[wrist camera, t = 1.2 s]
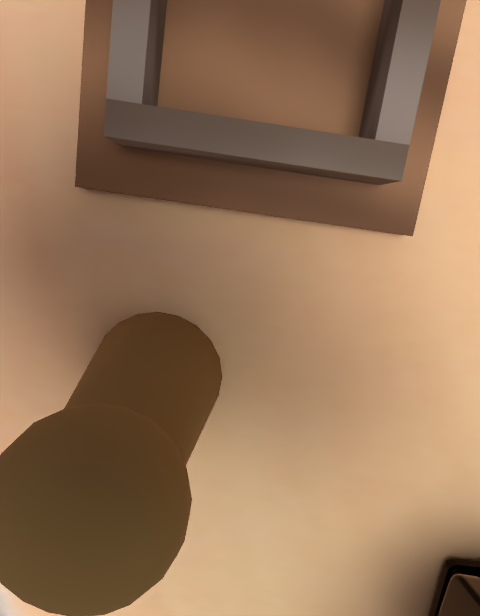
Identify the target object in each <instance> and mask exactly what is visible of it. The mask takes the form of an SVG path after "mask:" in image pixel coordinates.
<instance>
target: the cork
mask: <svg viewBox="0 0 480 616" xmlns="http://www.w3.org/2000/svg"><path fill="white" fill-rule="evenodd" d="M221 380H222V373H221V365H220V358H219V356H218V354H217V352H216V350H215V348H214V346H213V344H212V342H211V340H210V339H209V338H208V337H207V336H206V335H205V334H204V333H203V332H202V331H201V330H200V329H199V328H198V327H197V326H196V325H194V324H192V323H190V322H189V321H187V320H185V319H183V318H181V317H179V316H176V315H171V314H165V313H160V312H154V313H145V314H137V315H135V316H133V317H131V318H129V319H126V320H124V321H122V322H120V323H118V324H117V325H116V326H115V327H114V328H113V329H112V330H111V331H110V332H109V333H108V334H107V335H106V336H105V337H104V339H103V341H102V343H101V344H100V346H99V348H98V350H97V351H96V353H95V355H94V357H93V359H92V360H91V362H90V364H89V366H88V367H87V369H86V371H85V373H84V375H83V376H82V378H81V380H80V382H79V383H78V385H77V387H76V389H75V390H74V392H73V394H72V396H71V398H70V399H69V401H68V403H67V405H66V406H65V408H64V409H63V410H61V411H59V412H57V413H54V414H52V415H50V416H48V417H45V418H43V419H41V420H39V421H37V422H34V423H33V424H32V425H31V426H30V427H29V428H28V429H27V430H26V431H25V432H24V433H22V434H21V435H20V436H19V437H18V438H17V439H16V440H15V441H14V442H13V443H12V444H11V445H10V446H9V447H8V448H7V449H6V450H5V451H4V452H3V453H2V454H1V455H0V582H1V584H2V585H4V586H5V587H6V588H7V589H8V590H10V591H11V592H12V593H13V594H15V595H16V596H17V597H18V598H20V599H21V600H22V601H24V602H26V603H28V604H31V605H33V606H35V607H37V608H40V609H42V610H44V611H46V612H49V613H54V614H60V615H66V616H95V615H105V614H108V613H110V612H113V611H115V610H118V609H120V608H123V607H125V606H128V605H130V604H131V603H133V602H134V601H135V600H136V599H138V598H139V597H140V596H141V595H143V594H144V593H145V592H146V591H148V590H149V589H150V588H151V587H153V586H154V585H155V584H156V583H158V582H159V581H160V580H161V579H162V578H163V577H164V575H165V574H166V572H167V570H168V569H169V567H170V566H171V564H172V562H173V561H174V559H175V557H176V556H177V554H178V552H179V550H180V548H181V546H182V544H183V543H184V540H185V535H186V530H187V525H188V520H189V515H190V508H191V501H192V498H191V492H190V485H189V479H188V473H187V469H186V464H187V462H188V459H189V457H190V455H191V453H192V451H193V449H194V446H195V444H196V442H197V440H198V438H199V436H200V434H201V431H202V429H203V427H204V425H205V423H206V421H207V419H208V416H209V414H210V412H211V410H212V408H213V406H214V403H215V401H216V399H217V397H218V395H219V390H220V385H221Z"/></svg>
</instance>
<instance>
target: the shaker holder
mask: <svg viewBox="0 0 480 616" xmlns="http://www.w3.org/2000/svg"><path fill="white" fill-rule="evenodd" d="M465 5H466V0H86V8H85V25H84V42H83V60H82V77H81V94H80V111H79V129H78V146H77V163H76V180H75V187H81V188H88V189H95V190H102V191H108V192H115V193H122V194H129V195H136V196H142V197H149V198H156V199H163V200H170V201H176V202H183V203H190V204H197V205H204V206H210V207H217V208H224V209H231V210H237V211H244V212H251V213H258V214H265V215H271V216H278V217H285V218H292V219H299V220H305V221H312V222H319V223H326V224H333V225H339V226H346V227H353V228H360V229H367V230H373V231H380V232H387V233H394V234H401V235H407V236H413V233H414V228H415V224H416V219H417V215H418V211H419V206H420V202H421V198H422V193H423V189H424V184H425V180H426V176H427V171H428V167H429V162H430V158H431V154H432V149H433V145H434V141H435V136H436V132H437V127H438V123H439V119H440V114H441V110H442V105H443V101H444V97H445V92H446V88H447V84H448V79H449V75H450V70H451V66H452V62H453V57H454V53H455V49H456V44H457V40H458V35H459V31H460V27H461V22H462V18H463V13H464V9H465Z"/></svg>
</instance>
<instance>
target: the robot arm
mask: <svg viewBox="0 0 480 616" xmlns="http://www.w3.org/2000/svg"><path fill="white" fill-rule="evenodd" d="M455 569H456V570H455ZM453 570H455V571H453ZM429 616H480V562H478V561H470V560H462V559H450V560H448V561H447V562H445V564H444V566H443V569H442V573H441V576H440V580H439V583H438V587H437V590H436V593H435V597H434V600H433V604H432V607H431V611H430V614H429Z"/></svg>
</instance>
